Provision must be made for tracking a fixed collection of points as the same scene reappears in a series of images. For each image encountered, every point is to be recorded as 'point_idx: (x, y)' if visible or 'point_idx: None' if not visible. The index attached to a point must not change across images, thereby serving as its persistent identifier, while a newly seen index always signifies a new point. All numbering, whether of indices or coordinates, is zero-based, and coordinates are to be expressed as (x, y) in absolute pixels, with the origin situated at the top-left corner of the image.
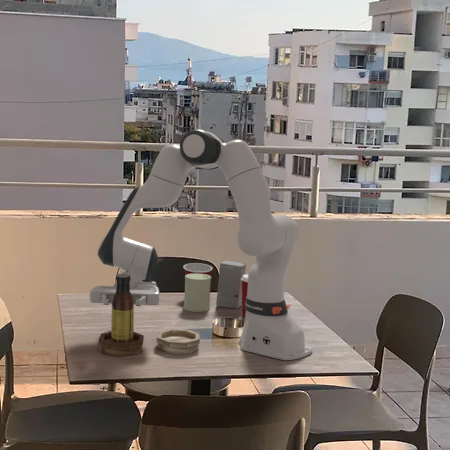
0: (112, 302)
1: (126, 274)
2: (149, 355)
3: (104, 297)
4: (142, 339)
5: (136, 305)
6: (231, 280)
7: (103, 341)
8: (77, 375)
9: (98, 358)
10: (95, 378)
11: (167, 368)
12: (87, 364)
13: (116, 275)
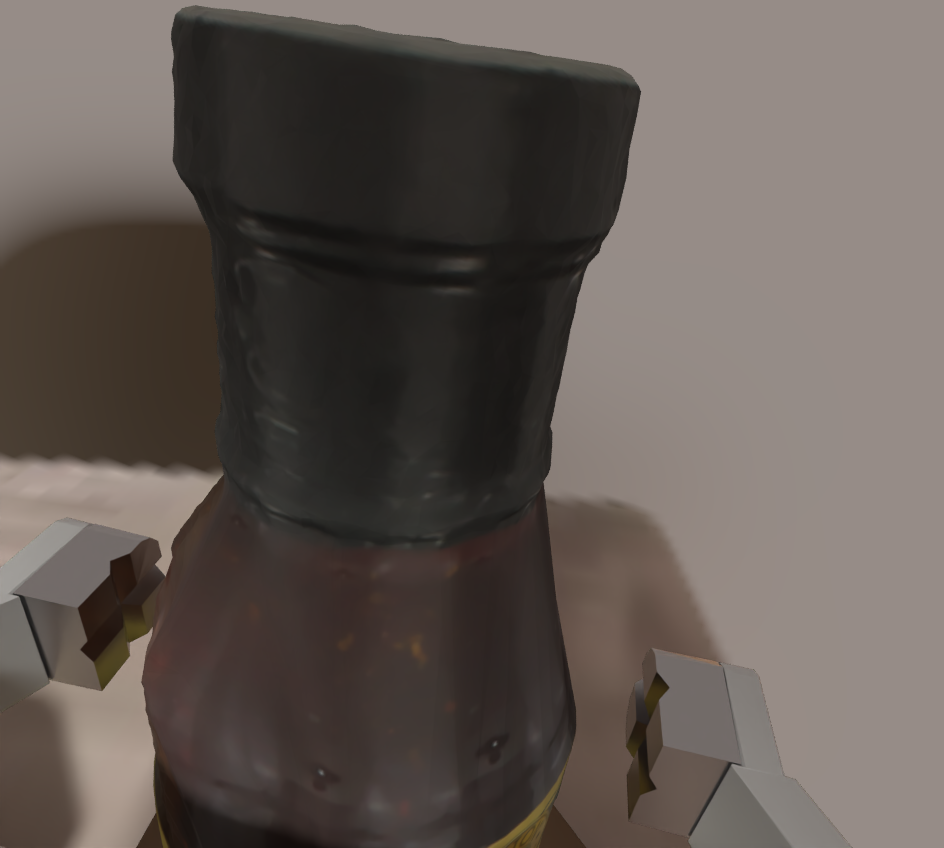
0: (565, 657)
1: (281, 17)
2: (152, 778)
3: (777, 764)
4: (144, 842)
5: (156, 595)
6: None
7: (565, 821)
8: (647, 541)
9: (572, 760)
10: (559, 505)
11: (166, 548)
12: (629, 662)
13: (632, 78)
